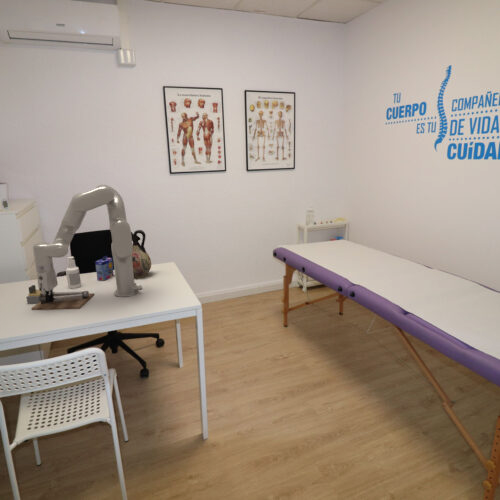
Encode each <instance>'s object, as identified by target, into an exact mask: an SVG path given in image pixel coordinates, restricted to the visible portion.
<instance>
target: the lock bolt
mask: <svg viewBox="0 0 500 500" xmlns="http://www.w3.org/2000/svg"><path fill="white" fill-rule="evenodd" d="M28 292H29V293H28V294H27V296H41V295H42V294H41V291H39V289H37V288H36V285H35V284H33V285H30V286H29V287H28Z"/></svg>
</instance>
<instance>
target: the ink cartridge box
mask: <svg viewBox="0 0 500 500" xmlns="http://www.w3.org/2000/svg"><path fill="white" fill-rule="evenodd" d="M94 262H95V271H96V280H97V281H102V282H104V281H107V280H108V279H111V278H113V277H115V271H114V262H113V257H108V255H105V256H103V257H102V258H101V259H98V260H96V261H94Z"/></svg>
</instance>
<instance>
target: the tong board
mask: <svg viewBox="0 0 500 500" xmlns="http://www.w3.org/2000/svg"><path fill="white" fill-rule="evenodd" d="M88 293H89V298H86V299H83V300H73V301H63V302H53V303H43V304H41V301H40V302H39V303H38V304H35V305H33V306H32V307H31V311H37V310H39V311H40V310H41V311H42V310H43V311H44V310H77V309H81V308H82V307H84V306H85V304H86V303H88V302H89V301H90V300H91V299H92V298H93V297H94V296H95V293H93V292H92V293H90V292H88Z"/></svg>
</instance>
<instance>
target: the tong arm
mask: <svg viewBox="0 0 500 500" xmlns="http://www.w3.org/2000/svg"><path fill="white" fill-rule="evenodd" d="M81 292H82V294H75V295H65V296H55V297H53V298H54V301H53V302H63V301H73V300H83V299H86V298H89V293H90V292H89V291H88V290H84V291H81ZM40 301H41V304H43V303H53V302H46V298H45V297H44V298H41V299H40Z"/></svg>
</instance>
